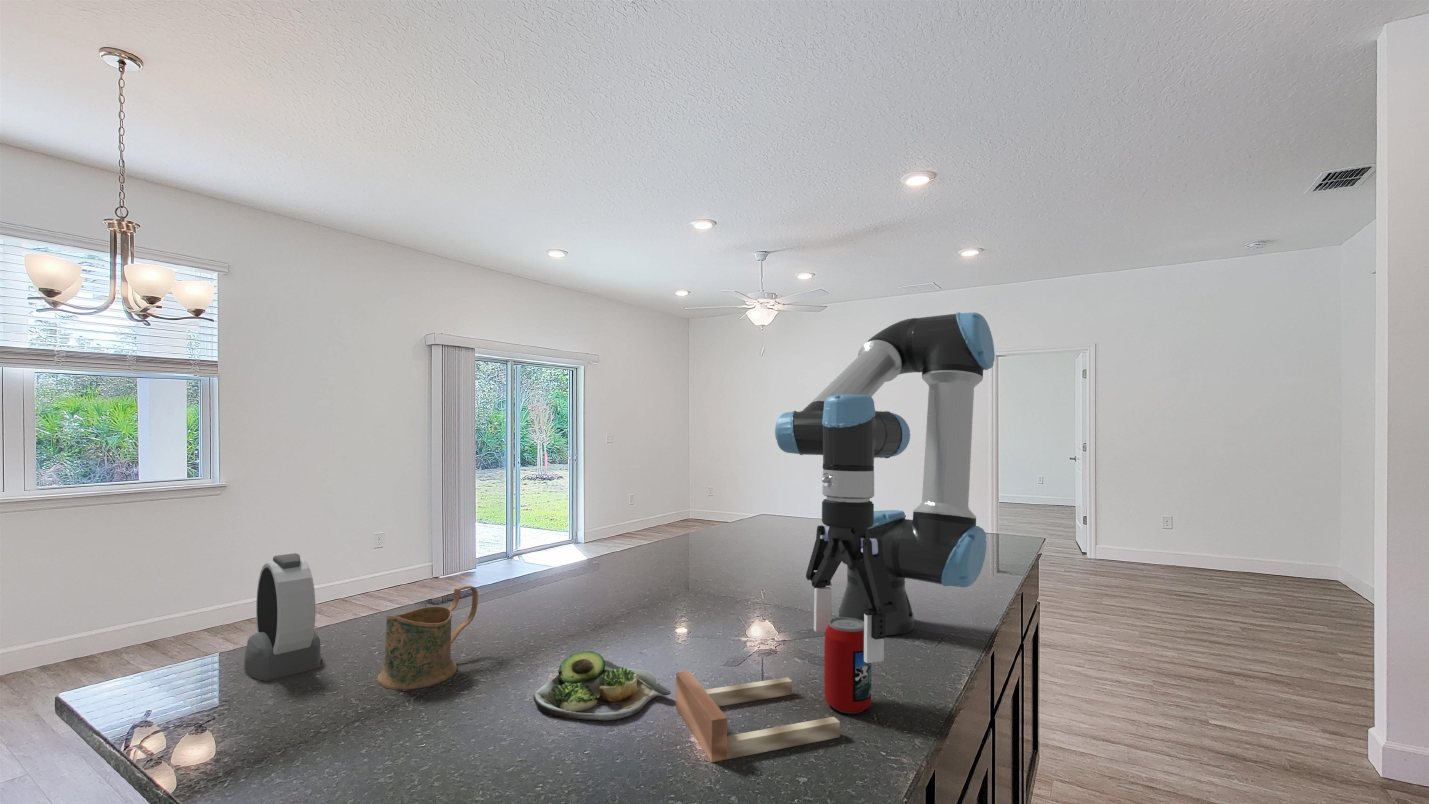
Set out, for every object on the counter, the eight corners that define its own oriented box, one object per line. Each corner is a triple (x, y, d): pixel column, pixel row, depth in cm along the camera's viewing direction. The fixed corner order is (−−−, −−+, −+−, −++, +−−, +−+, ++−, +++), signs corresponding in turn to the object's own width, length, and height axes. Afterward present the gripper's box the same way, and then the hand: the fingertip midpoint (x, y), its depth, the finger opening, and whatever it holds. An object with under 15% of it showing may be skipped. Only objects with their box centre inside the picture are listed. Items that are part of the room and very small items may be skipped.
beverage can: (872, 718, 85) (872, 632, 86) (823, 713, 87) (823, 628, 87) (870, 697, 92) (870, 617, 92) (824, 693, 93) (824, 614, 94)
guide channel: (787, 690, 94) (787, 657, 95) (839, 737, 80) (839, 698, 80) (675, 707, 88) (676, 672, 88) (711, 762, 74) (711, 720, 74)
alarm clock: (235, 658, 105) (239, 552, 106) (305, 643, 112) (308, 544, 113) (256, 687, 94) (260, 567, 95) (332, 668, 101) (335, 557, 102)
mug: (498, 655, 108) (500, 586, 108) (411, 695, 92) (414, 614, 92) (451, 644, 112) (453, 579, 113) (361, 680, 97) (363, 604, 97)
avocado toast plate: (688, 682, 98) (689, 653, 98) (642, 736, 81) (643, 701, 81) (581, 666, 104) (582, 639, 104) (517, 714, 87) (518, 681, 87)
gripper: (786, 491, 101) (784, 621, 100) (876, 509, 77) (875, 680, 76) (826, 490, 103) (824, 617, 102) (924, 508, 80) (924, 673, 79)
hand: (846, 644), depth 89 cm, fingers open, 13 cm apart
